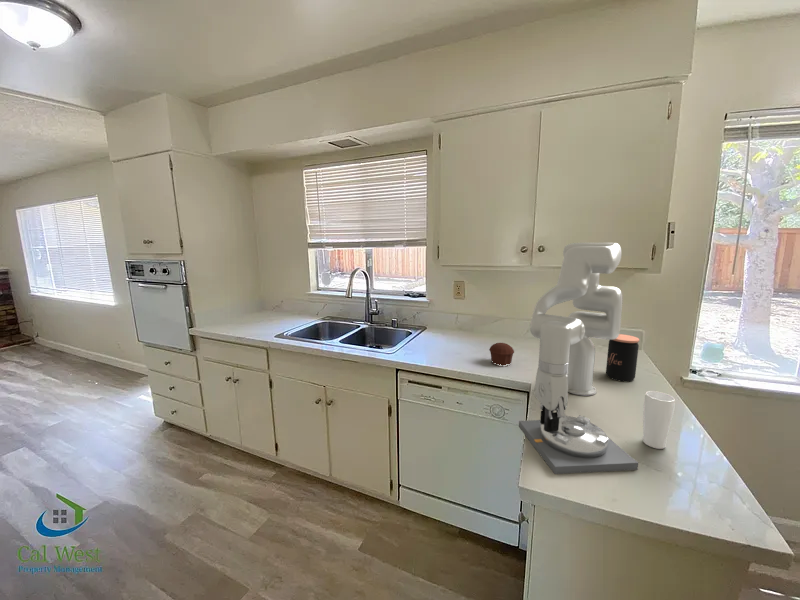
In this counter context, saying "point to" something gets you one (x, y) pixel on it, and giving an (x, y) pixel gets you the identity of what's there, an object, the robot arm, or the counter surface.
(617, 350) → the coffee jar
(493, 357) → the muffin
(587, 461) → the gray square base plate
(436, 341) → the counter surface
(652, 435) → the drinking glass
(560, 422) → the round metal lid
